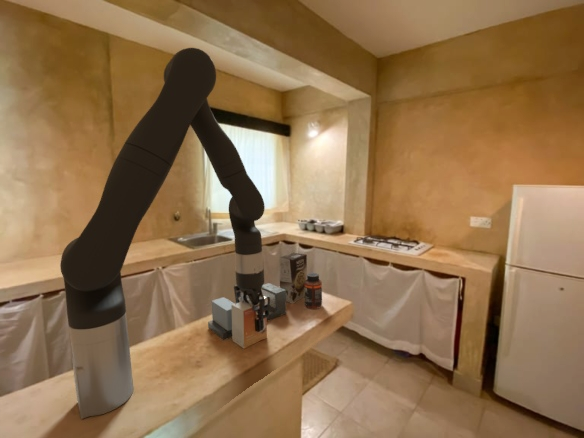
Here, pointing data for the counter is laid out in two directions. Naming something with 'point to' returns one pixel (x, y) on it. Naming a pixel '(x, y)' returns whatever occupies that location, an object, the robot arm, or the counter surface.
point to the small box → (246, 325)
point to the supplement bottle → (313, 291)
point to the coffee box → (293, 276)
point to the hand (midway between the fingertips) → (252, 325)
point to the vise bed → (275, 309)
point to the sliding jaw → (222, 312)
